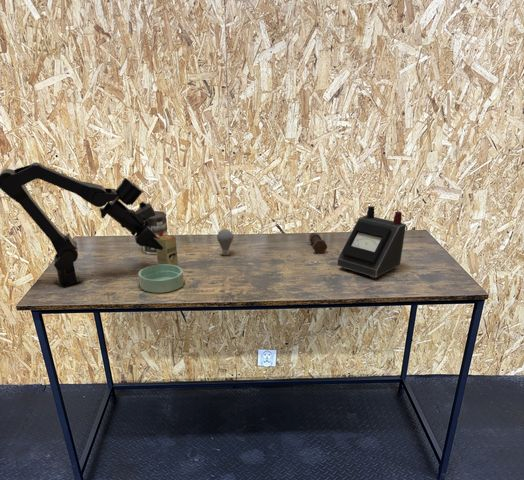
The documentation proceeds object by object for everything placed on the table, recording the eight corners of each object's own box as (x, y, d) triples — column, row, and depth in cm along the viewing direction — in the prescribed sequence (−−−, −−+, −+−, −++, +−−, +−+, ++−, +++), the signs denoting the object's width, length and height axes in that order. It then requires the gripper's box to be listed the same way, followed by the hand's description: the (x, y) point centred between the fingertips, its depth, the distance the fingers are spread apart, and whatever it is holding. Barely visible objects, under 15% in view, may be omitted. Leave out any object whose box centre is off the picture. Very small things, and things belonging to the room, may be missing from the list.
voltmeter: (336, 269, 178) (340, 213, 168) (361, 257, 188) (367, 204, 178) (374, 281, 168) (382, 223, 158) (399, 268, 179) (407, 213, 168)
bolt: (314, 245, 206) (321, 256, 193) (304, 239, 204) (310, 250, 191) (322, 233, 203) (329, 243, 190) (312, 227, 202) (318, 237, 189)
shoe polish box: (178, 269, 177) (175, 237, 171) (168, 274, 174) (165, 240, 168) (168, 267, 180) (164, 234, 174) (158, 271, 176) (154, 238, 170)
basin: (131, 285, 166) (129, 272, 163) (166, 273, 175) (164, 261, 172) (157, 297, 157) (156, 284, 155) (192, 284, 166) (191, 271, 164)
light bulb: (225, 251, 194) (224, 226, 189) (236, 254, 191) (236, 229, 186) (214, 255, 190) (213, 229, 185) (226, 258, 187) (225, 232, 182)
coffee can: (174, 250, 195) (171, 214, 188) (151, 256, 189) (147, 219, 182) (160, 244, 202) (157, 209, 194) (138, 249, 196) (133, 214, 188)
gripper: (142, 203, 154) (180, 235, 162) (135, 190, 169) (170, 219, 178) (120, 230, 155) (158, 260, 164) (115, 215, 171) (150, 243, 179)
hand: (160, 244), depth 171 cm, fingers open, 9 cm apart
